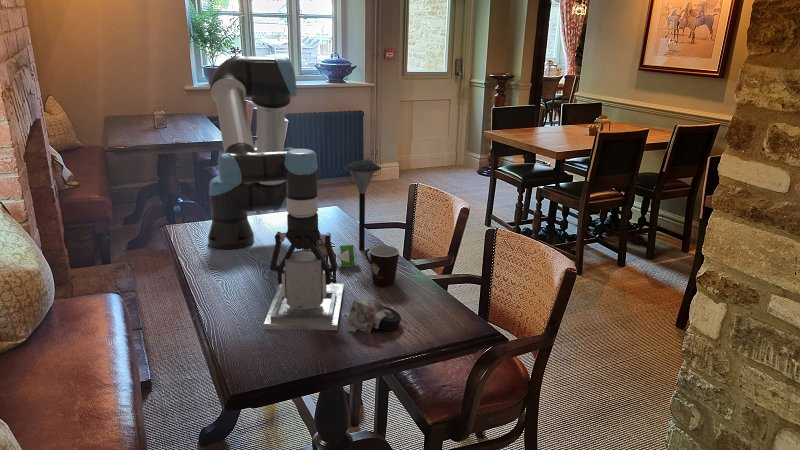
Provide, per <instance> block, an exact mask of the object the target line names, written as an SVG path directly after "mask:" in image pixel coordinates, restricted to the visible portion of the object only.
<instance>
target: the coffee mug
mask: <svg viewBox="0 0 800 450" xmlns="http://www.w3.org/2000/svg"><path fill="white" fill-rule="evenodd" d="M368 253H369V254H368ZM364 255H365V258H366V260H367V262H368V264H370V267H371V268H370V269H371V276H372V284H373V285H374V286H376V287H379V288H388V287H392V286H394V285H395V282H396V276H397V269H398V262H399V255H400V249H399V248H397V247H395V246H390V245H376V246H373V247H371V248H367V249H366V250H365V253H364ZM368 255H369V256H368ZM369 257H370V258H369Z"/></svg>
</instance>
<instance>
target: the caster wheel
mask: <svg viewBox="0 0 800 450" xmlns="http://www.w3.org/2000/svg"><path fill="white" fill-rule="evenodd" d="M401 320H402V316H401V315H400V313H399V312H398V311H396V310H394V309H393V308H391V307H387V306H384V305H382V303H381V302H380V301H378V300H376V299H366V300H364V301H361V302H359V301H358V300H353V301H352V305H351V309H350V311H349V315H348V317H347V321H346V323H347V325H349V326H350V327H352V328H355V329H357V330H359V331H361V332H363V333H364V334H367V335H371V331H372V329H373V328H374V329H377V330H379V329H380V330H384V331H396V330H398V328H399V327H400V325H401Z"/></svg>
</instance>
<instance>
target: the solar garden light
mask: <svg viewBox="0 0 800 450" xmlns="http://www.w3.org/2000/svg"><path fill="white" fill-rule="evenodd" d="M343 169H344V170H345V171H348V172H349V173H350V176H351V178H352V180H353V182H354V184H355V186H356V189H357V191H358V192H359V193H358V194H359V195H358V196H359V197H358V198H359V207H358V211H359V215H358V220H359V221H358V231H359V232H358V250H359V251H365V247H366V245H365V244H366V243H365V241H366V240H365V238H366V237H365V235H366V233H365V232H366V231H365V229H366V228H365V227H366V219H365V218H366V191H367V189H368V187H369V185H370V183H371V181H372V179H373V177H374V174H375V172H378V171H380V170H381V169H382V167H381V166H379V165H378V164H376V163H374V162H372V161H370V160H353V161H352V162H350V163H348V164H347V165H344V166H343Z"/></svg>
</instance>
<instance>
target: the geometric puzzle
mask: <svg viewBox="0 0 800 450" xmlns="http://www.w3.org/2000/svg"><path fill="white" fill-rule="evenodd" d="M339 251H340V252H337V254H336V255H335V258H336V259H339V260H337V261H338V262H337V263H339V265H340V268H348V267H349V268H350V267H351V268H352V267H356V263H357V260H355V259H358V257H359V256H360V255H359V253H357V251H356V248H355V245H354V244H346V245H339ZM354 251H355V252H354ZM340 262H341V263H340Z"/></svg>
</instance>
